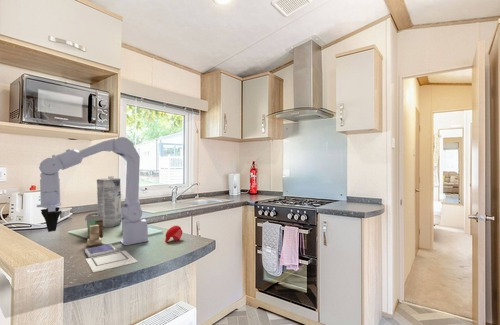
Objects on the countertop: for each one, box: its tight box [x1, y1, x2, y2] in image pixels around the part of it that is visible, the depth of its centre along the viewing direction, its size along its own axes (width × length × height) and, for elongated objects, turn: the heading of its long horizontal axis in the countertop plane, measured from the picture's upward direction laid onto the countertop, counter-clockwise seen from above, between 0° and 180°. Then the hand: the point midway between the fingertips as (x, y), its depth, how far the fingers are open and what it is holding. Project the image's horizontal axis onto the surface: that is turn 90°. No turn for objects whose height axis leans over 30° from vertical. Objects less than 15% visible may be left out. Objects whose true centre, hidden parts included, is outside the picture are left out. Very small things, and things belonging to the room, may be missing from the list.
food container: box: [84, 212, 104, 238], centre depth 127 cm, size 12×6×10 cm, turn 40°
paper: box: [85, 250, 138, 273], centre depth 93 cm, size 13×16×1 cm
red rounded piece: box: [164, 225, 183, 243], centre depth 116 cm, size 8×6×6 cm
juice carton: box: [96, 175, 122, 228], centre depth 150 cm, size 9×10×27 cm
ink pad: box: [84, 243, 117, 258], centre depth 102 cm, size 9×9×1 cm
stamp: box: [87, 225, 103, 248], centre depth 113 cm, size 4×4×8 cm
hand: (51, 229), depth 98 cm, fingers open, 7 cm apart
